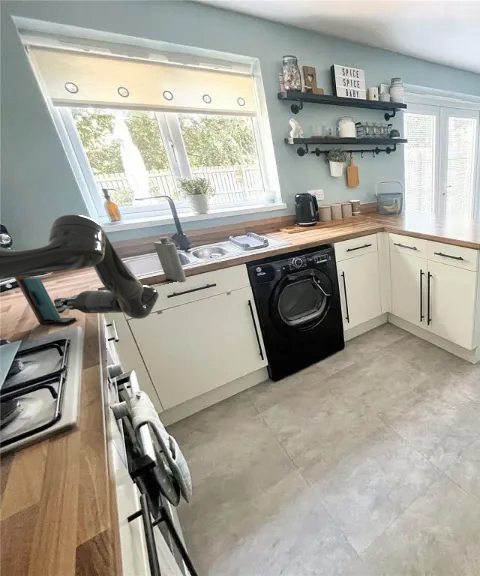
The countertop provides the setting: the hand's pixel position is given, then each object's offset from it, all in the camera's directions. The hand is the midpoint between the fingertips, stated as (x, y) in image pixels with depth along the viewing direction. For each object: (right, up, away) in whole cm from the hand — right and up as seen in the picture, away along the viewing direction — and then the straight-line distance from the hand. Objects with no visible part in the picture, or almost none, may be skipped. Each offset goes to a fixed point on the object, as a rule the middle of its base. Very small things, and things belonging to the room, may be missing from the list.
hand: (57, 301), depth 104 cm
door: (-5, -6, +4) cm, 9 cm away
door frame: (-3, -7, +4) cm, 9 cm away
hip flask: (+13, +9, +41) cm, 44 cm away
